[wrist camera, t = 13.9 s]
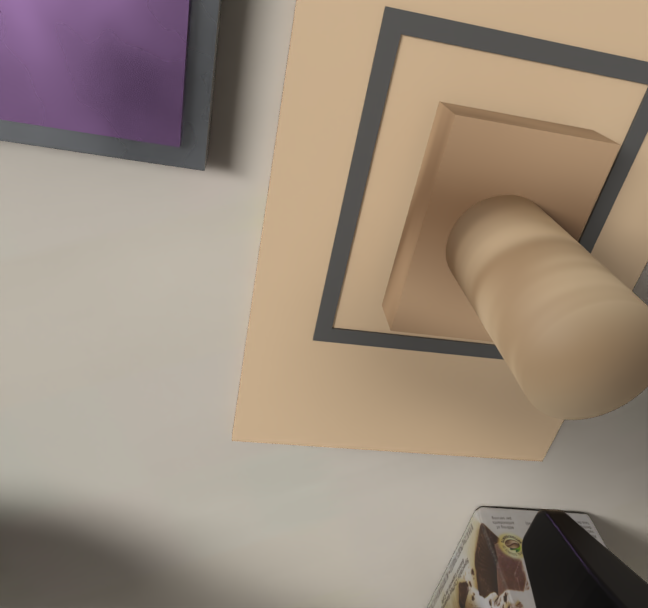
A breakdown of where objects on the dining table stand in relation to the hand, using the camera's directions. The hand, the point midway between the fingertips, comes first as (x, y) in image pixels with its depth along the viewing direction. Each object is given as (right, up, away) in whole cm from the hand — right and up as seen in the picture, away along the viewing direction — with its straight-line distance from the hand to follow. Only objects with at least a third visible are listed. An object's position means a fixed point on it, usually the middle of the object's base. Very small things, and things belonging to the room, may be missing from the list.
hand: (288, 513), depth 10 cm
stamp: (+6, +6, +10) cm, 13 cm away
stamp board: (+6, +7, +10) cm, 13 cm away
